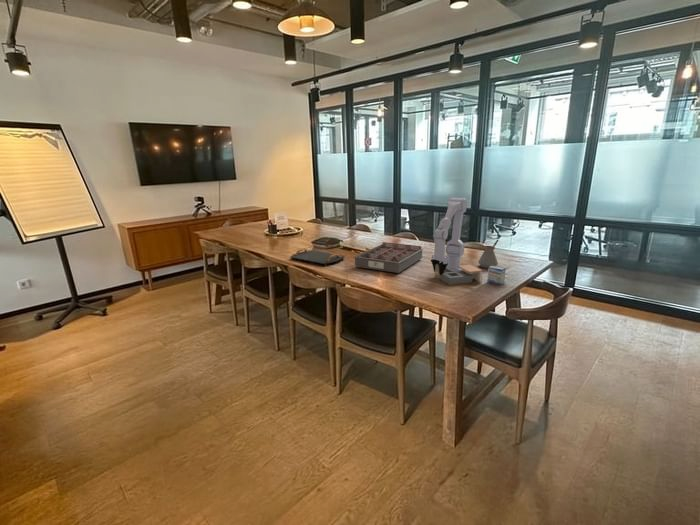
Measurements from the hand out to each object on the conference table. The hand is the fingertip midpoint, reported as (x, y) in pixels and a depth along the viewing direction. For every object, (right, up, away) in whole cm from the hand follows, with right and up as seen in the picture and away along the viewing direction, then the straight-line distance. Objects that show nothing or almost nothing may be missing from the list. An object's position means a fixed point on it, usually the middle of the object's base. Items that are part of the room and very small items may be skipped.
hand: (438, 273), depth 203 cm
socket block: (+9, -4, -5) cm, 11 cm away
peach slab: (+17, -4, -3) cm, 17 cm away
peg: (0, -3, +1) cm, 3 cm away
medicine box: (+29, -5, -9) cm, 31 cm away
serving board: (-74, +8, +48) cm, 89 cm away
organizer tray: (-25, +5, +32) cm, 41 cm away
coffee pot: (+39, +4, +24) cm, 46 cm away
